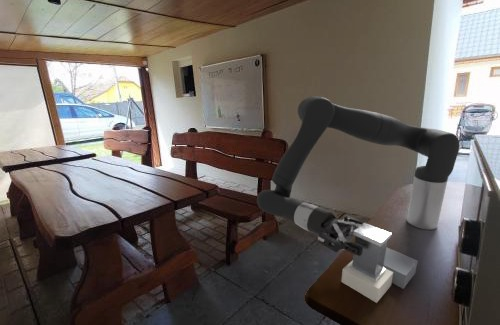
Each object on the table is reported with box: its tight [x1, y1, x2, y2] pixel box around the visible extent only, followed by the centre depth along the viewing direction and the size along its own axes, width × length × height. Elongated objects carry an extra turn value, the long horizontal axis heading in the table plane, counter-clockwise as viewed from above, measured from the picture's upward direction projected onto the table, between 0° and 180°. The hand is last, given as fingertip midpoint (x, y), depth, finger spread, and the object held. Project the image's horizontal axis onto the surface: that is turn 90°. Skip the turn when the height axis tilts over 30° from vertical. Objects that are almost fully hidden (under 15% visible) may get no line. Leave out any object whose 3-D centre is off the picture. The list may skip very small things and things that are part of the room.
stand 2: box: [383, 247, 419, 290], centre depth 69 cm, size 8×9×4 cm
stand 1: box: [341, 259, 393, 304], centre depth 66 cm, size 8×9×4 cm
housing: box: [349, 222, 392, 283], centre depth 63 cm, size 6×6×11 cm
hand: (370, 244), depth 63 cm, fingers open, 8 cm apart
